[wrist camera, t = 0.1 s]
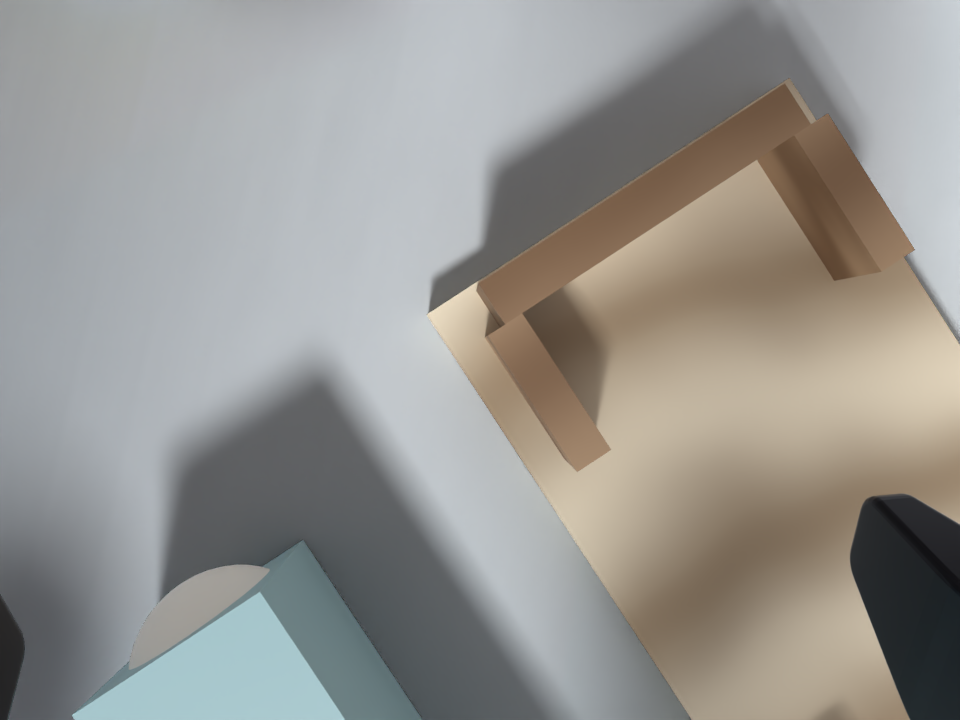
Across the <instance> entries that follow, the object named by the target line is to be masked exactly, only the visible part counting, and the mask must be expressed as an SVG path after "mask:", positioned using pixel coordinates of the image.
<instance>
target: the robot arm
mask: <svg viewBox="0 0 960 720" xmlns="http://www.w3.org/2000/svg"><path fill="white" fill-rule="evenodd" d="M850 566H851V571H852V574H853V577H854V580H855V583H856V585H857V588H858V590H859V593H860V595H861V598H862V601H863V603H864V606H865V608H866V611H867V614H868V616H869V619H870V621H871V624H872V627H873V629H874V632H875V634H876V637H877V639H878V642H879V645H880V647H881V650H882V652H883V655H884V658H885V660H886V663H887V665H888V668H889V671H890V673H891V676H892V678H893V681H894V684H895V686H896V689H897V691H898V693H899V696H900V698H901V701H902V703H903V705H904V708H905V710H906V712H907V714H908V717H909V719H910V720H960V524H959V523H957V522H955V521H954V520H952V519H950V518H949V517H947V516H945V515H944V514H942V513H940V512H939V511H937V510H935V509H934V508H932V507H930V506H929V505H927V504H925V503H924V502H922V501H920V500H919V499H917V498H915V497H913V496H911V495H908V494H903V493H898V494H888V495H877V496H871V497H868V498H867V499H866V500H865V501H864V502H863V504H862V506H861V509H860V513H859V517H858V521H857V525H856V529H855V533H854V537H853V541H852V545H851V549H850ZM24 651H25V644H24V638H23V634H22V632H21V630H20V628H19V626H18V624H17V623H16V621H15V619H14V617H13V616H12V614H11V612H10V610H9V609H8V607H7V605H6V603H5V601H4V600H3V598H2V596H1V594H0V720H8V718H9V714H10V710H11V706H12V702H13V698H14V694H15V690H16V687H17V683H18V679H19V675H20V671H21V667H22V663H23V659H24Z"/></svg>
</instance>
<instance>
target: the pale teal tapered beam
mask: <svg viewBox="0 0 960 720" xmlns="http://www.w3.org/2000/svg"><path fill="white" fill-rule="evenodd" d="M72 716H73V718H74V719H75V720H422V718H421V717H420V715H419V714H418V712H417V711H416V709H415V708H414V706H413V705H412V703H411V702H410V700H409V699H408V697H407V696H406V694H405V693H404V691H403V690H402V688H401V687H400V685H399V684H398V682H397V681H396V679H395V678H394V676H393V675H392V673H391V672H390V670H389V669H388V667H387V666H386V664H385V663H384V661H383V660H382V658H381V657H380V655H379V654H378V652H377V651H376V649H375V648H374V646H373V645H372V643H371V641H370V640H369V638H368V637H367V635H366V634H365V632H364V631H363V629H362V628H361V626H360V625H359V623H358V622H357V620H356V619H355V617H354V616H353V614H352V613H351V611H350V610H349V608H348V607H347V605H346V604H345V602H344V601H343V599H342V598H341V596H340V595H339V593H338V592H337V590H336V589H335V587H334V586H333V584H332V583H331V581H330V580H329V578H328V577H327V575H326V574H325V572H324V571H323V569H322V568H321V566H320V565H319V563H318V562H317V560H316V559H315V557H314V556H313V554H312V553H311V551H310V550H309V548H308V547H307V545H306V544H305V542H304V541H303V540H302V541H300V542H299V543H297V544H296V545H294V546H293V547H291V548H290V549H288V550H287V551H285V552H284V553H282V554H281V555H279V556H277V557H276V558H274V559H273V560H271V561H270V562H268V563H267V564H265V565H264V566H262V567H261V566H254V565H229V566H222V567H218V568H214V569H210V570H207V571H204V572H202V573H199V574H197V575H195V576H193V577H191V578H189V579H188V580H186V581H184V582H183V583H181V584H179V585H178V586H177V587H175V588H174V589H173V590H171V591H170V592H169V593H168V594H167V595H166V596H165V597H164V598H163V599H162V600H161V601H160V602H159V603H158V604H157V605H156V606H155V608H154V609H153V610H152V611H151V613H150V614H149V615H148V617H147V618H146V620H145V622H144V624H143V625H142V627H141V629H140V631H139V633H138V635H137V638H136V640H135V642H134V645H133V649H132V652H131V656H130V661H129V662H128V663H127V664H126V665H125V666H124V667H123V668H122V669H121V670H119V671H118V672H117V673H116V674H115V675H114V676H113V677H112V678H111V679H110V680H109V681H108V682H107V683H106V684H105V685H104V686H102V687H101V688H100V689H99V690H98V691H97V692H96V693H95V694H94V695H93V696H92V697H91V698H90V699H89V700H88V701H86V702H85V703H84V704H83V705H82V706H81V707H80V708H79V709H78V710H77V711H76V712H75V713H74V714H73V715H72Z"/></svg>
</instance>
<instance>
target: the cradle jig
mask: <svg viewBox="0 0 960 720" xmlns="http://www.w3.org/2000/svg"><path fill="white" fill-rule="evenodd" d="M914 250H915V249H914V247H913V246H912V244H911V243H910V241H909V240H908V238H907V237H906V235H905V233H904V232H903V230H902V229H901V227H900V226H899V224H898V222H897V221H896V219H895V218H894V216H893V215H892V213H891V211H890V210H889V208H888V207H887V205H886V204H885V202H884V200H883V199H882V197H881V196H880V194H879V193H878V191H877V189H876V188H875V186H874V185H873V183H872V182H871V180H870V178H869V177H868V175H867V174H866V172H865V171H864V169H863V168H862V166H861V164H860V163H859V161H858V160H857V158H856V157H855V155H854V153H853V152H852V150H851V149H850V147H849V146H848V144H847V142H846V141H845V139H844V138H843V136H842V135H841V133H840V131H839V130H838V128H837V127H836V125H835V124H834V122H833V120H832V119H831V117H830V116H829V114H826V115H825V116H823V117H821V118H820V119H818V120H816V119H815V117H814V116H813V114H812V112H811V111H810V109H809V108H808V106H807V105H806V103H805V101H804V100H803V98H802V97H801V95H800V94H799V92H798V91H797V89H796V87H795V86H794V84H793V83H792V81H791V80H790V78H788V79H787V80H785V81H784V82H782V83H781V84H779V85H778V86H776V87H775V88H773V89H772V90H770V91H769V92H767V93H765V94H764V95H762V96H761V97H759V98H758V99H756V100H755V101H753V102H752V103H750V104H749V105H747V106H746V107H744V108H742V109H741V110H739V111H738V112H736V113H735V114H733V115H732V116H730V117H729V118H727V119H726V120H724V121H723V122H721V123H719V124H718V125H716V126H715V127H713V128H712V129H710V130H709V131H707V132H706V133H704V134H703V135H701V136H700V137H698V138H696V139H695V140H693V141H692V142H690V143H689V144H687V145H686V146H684V147H683V148H681V149H680V150H678V151H677V152H675V153H674V154H672V155H670V156H669V157H667V158H666V159H664V160H663V161H661V162H660V163H658V164H657V165H655V166H654V167H652V168H651V169H649V170H647V171H646V172H644V173H643V174H641V175H640V176H638V177H637V178H635V179H634V180H632V181H631V182H629V183H628V184H626V185H624V186H623V187H621V188H620V189H618V190H617V191H615V192H614V193H612V194H611V195H609V196H608V197H606V198H605V199H603V200H601V201H600V202H598V203H597V204H595V205H594V206H592V207H591V208H589V209H588V210H586V211H585V212H583V213H582V214H580V215H578V216H577V217H575V218H574V219H572V220H571V221H569V222H568V223H566V224H565V225H563V226H562V227H560V228H559V229H557V230H556V231H554V232H552V233H551V234H549V235H548V236H546V237H545V238H543V239H542V240H540V241H539V242H537V243H536V244H534V245H533V246H531V247H529V248H528V249H526V250H525V251H523V252H522V253H520V254H519V255H517V256H516V257H514V258H513V259H511V260H510V261H508V262H506V263H505V264H503V265H502V266H500V267H499V268H497V269H496V270H494V271H493V272H491V273H490V274H488V275H487V276H485V277H483V278H482V279H480V280H479V281H477V282H476V283H474V284H473V285H471V286H470V287H468V288H467V289H465V290H464V291H462V292H460V293H459V294H457V295H456V296H454V297H453V298H451V299H450V300H448V301H447V302H445V303H444V304H442V305H441V306H439V307H438V308H436V309H434V310H433V311H431V312H430V313H428V314H427V316H428V318H429V319H430V321H431V322H432V324H433V325H434V327H435V329H436V330H437V332H438V333H439V335H440V336H441V338H442V339H443V341H444V342H445V344H446V345H447V347H448V348H449V350H450V351H451V353H452V355H453V356H454V358H455V359H456V361H457V362H458V364H459V365H460V367H461V368H462V370H463V371H464V373H465V374H466V376H467V377H468V379H469V380H470V382H471V384H472V385H473V387H474V388H475V390H476V391H477V393H478V394H479V396H480V397H481V399H482V400H483V402H484V403H485V405H486V406H487V408H488V409H489V411H490V413H491V414H492V416H493V417H494V419H495V420H496V422H497V423H498V425H499V426H500V428H501V429H502V431H503V432H504V434H505V435H506V437H507V439H508V440H509V442H510V443H511V445H512V446H513V448H514V449H515V451H516V452H517V454H518V455H519V457H520V458H521V460H522V461H523V463H524V464H525V466H526V468H527V469H528V471H529V472H530V474H531V475H532V477H533V478H534V480H535V481H536V483H537V484H538V486H539V487H540V489H541V490H542V492H543V493H544V495H545V497H546V498H547V500H548V501H549V503H550V504H551V506H552V507H553V509H554V510H555V512H556V513H557V515H558V516H559V518H560V519H561V521H562V522H563V524H564V526H565V527H566V529H567V530H568V532H569V533H570V535H571V536H572V538H573V539H574V541H575V542H576V544H577V545H578V547H579V548H580V550H581V552H582V553H583V555H584V556H585V558H586V559H587V561H588V562H589V564H590V565H591V567H592V568H593V570H594V571H595V573H596V574H597V576H598V577H599V579H600V581H601V582H602V584H603V585H604V587H605V588H606V590H607V591H608V593H609V594H610V596H611V597H612V599H613V600H614V602H615V603H616V605H617V606H618V608H619V610H620V611H621V613H622V614H623V616H624V617H625V619H626V620H627V622H628V623H629V625H630V626H631V628H632V629H633V631H634V632H635V634H636V636H637V637H638V639H639V640H640V642H641V643H642V645H643V646H644V648H645V649H646V651H647V652H648V654H649V655H650V657H651V658H652V660H653V661H654V663H655V665H656V666H657V668H658V669H659V671H660V672H661V674H662V675H663V677H664V678H665V680H666V681H667V683H668V684H669V686H670V687H671V689H672V690H673V692H674V694H675V695H676V697H677V698H678V700H679V701H680V703H681V704H682V706H683V707H684V709H685V710H686V712H687V713H688V715H689V716H690V718H691V720H910V719H909V717H908V714H907V712H906V710H905V708H904V705H903V703H902V701H901V698H900V696H899V693H898V691H897V689H896V686H895V684H894V681H893V678H892V676H891V673H890V671H889V668H888V665H887V663H886V660H885V658H884V655H883V652H882V650H881V647H880V645H879V642H878V639H877V637H876V634H875V632H874V629H873V627H872V624H871V621H870V619H869V616H868V614H867V611H866V608H865V606H864V603H863V601H862V598H861V595H860V593H859V590H858V588H857V585H856V583H855V580H854V577H853V574H852V571H851V566H850V549H851V545H852V541H853V537H854V533H855V529H856V525H857V521H858V517H859V513H860V509H861V506H862V504H863V502H864V501H865V500H866V499H867V498H868V497H871V496H877V495H888V494H898V493H903V494H908V495H911V496H913V497H915V498H917V499H919V500H920V501H922V502H924V503H925V504H927V505H929V506H930V507H932V508H934V509H935V510H937V511H939V512H940V513H942V514H944V515H945V516H947V517H949V518H950V519H952V520H954V521H955V522H957V523H959V524H960V344H959V343H958V341H957V340H956V338H955V337H954V335H953V333H952V332H951V330H950V329H949V327H948V326H947V324H946V322H945V321H944V319H943V318H942V316H941V315H940V313H939V311H938V310H937V308H936V307H935V305H934V304H933V302H932V300H931V299H930V297H929V296H928V294H927V293H926V291H925V290H924V288H923V286H922V285H921V283H920V282H919V280H918V279H917V277H916V275H915V274H914V272H913V271H912V269H911V268H910V266H909V264H908V263H907V261H906V260H905V258H904V257H905V256H906V255H908V254H909V253H911V252H912V251H914Z"/></svg>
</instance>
